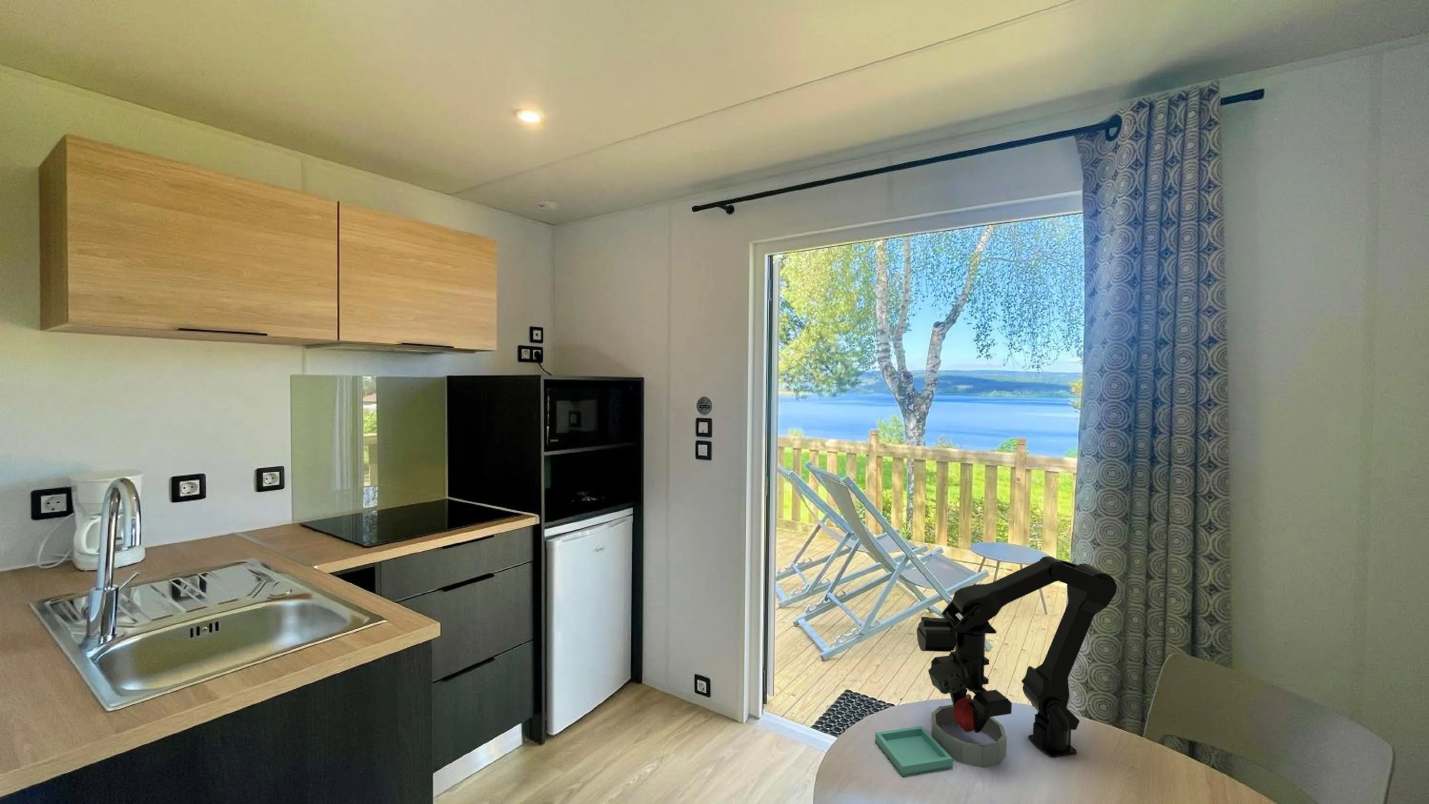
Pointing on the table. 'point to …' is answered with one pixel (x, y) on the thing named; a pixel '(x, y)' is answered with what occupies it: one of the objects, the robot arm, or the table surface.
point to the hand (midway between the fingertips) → (967, 722)
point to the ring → (969, 751)
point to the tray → (913, 751)
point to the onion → (964, 713)
